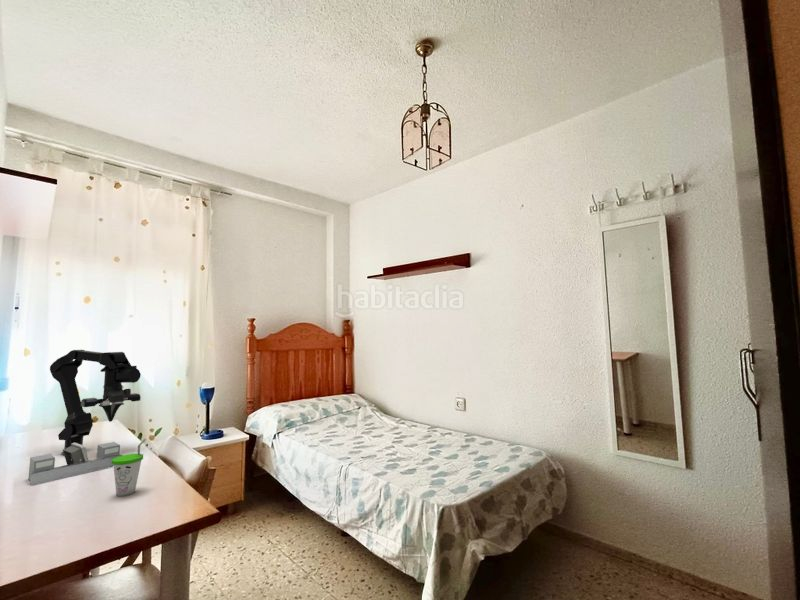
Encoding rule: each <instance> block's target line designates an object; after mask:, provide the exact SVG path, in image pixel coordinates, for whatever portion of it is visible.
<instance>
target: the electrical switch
mask: <svg viewBox="0 0 800 600" xmlns="http://www.w3.org/2000/svg"><path fill="white" fill-rule="evenodd" d="M71 445H72V446H70V447H68V448H66V449H64V448H63V449H62V452H63V453H64V455H63V456H64V459H65V462H66V465H69V464H74V463H79V462H84V461H89V460H90V459H89V457H88V454H87V453H88V452H87V450H86V448H85V445H84V444H83V445H81V444H78V443H72V444H71Z"/></svg>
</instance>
